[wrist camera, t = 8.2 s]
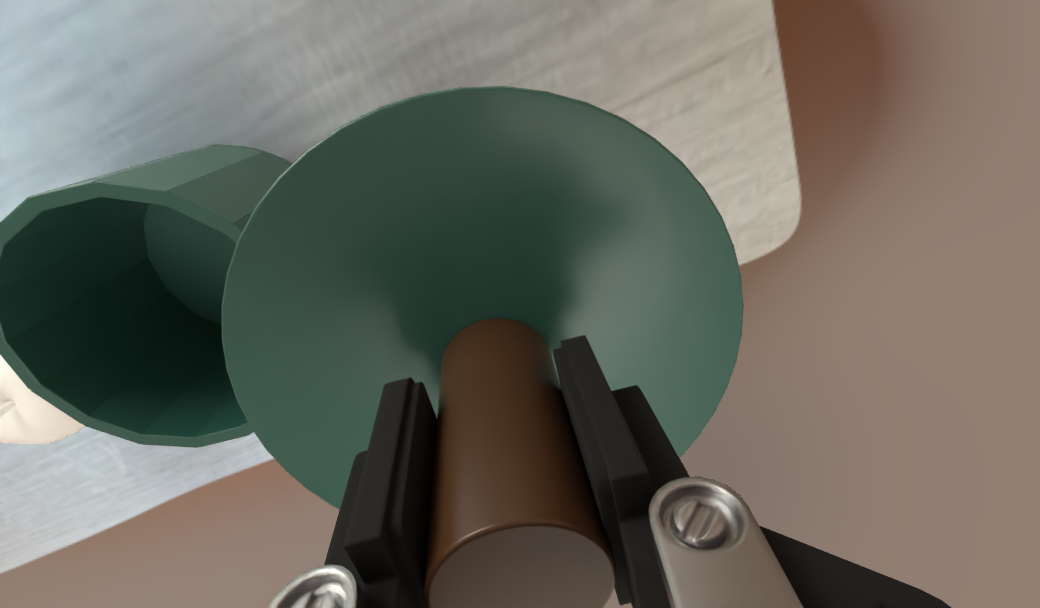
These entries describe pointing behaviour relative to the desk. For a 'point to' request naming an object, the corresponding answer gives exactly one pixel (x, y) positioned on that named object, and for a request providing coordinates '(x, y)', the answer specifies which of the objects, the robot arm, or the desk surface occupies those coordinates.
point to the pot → (133, 294)
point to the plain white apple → (29, 413)
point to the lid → (482, 318)
